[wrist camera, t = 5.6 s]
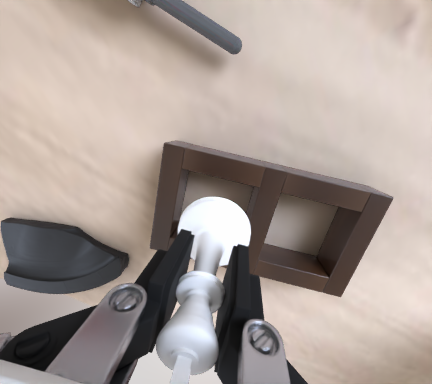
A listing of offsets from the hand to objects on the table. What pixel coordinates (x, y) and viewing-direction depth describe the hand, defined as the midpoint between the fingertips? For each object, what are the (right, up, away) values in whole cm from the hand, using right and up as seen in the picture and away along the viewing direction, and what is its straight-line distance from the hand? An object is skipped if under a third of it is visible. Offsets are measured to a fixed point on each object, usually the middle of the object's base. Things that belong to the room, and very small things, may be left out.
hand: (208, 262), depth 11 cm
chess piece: (0, +1, +3) cm, 4 cm away
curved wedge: (-17, -4, +12) cm, 21 cm away
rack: (+4, +2, +8) cm, 9 cm away
